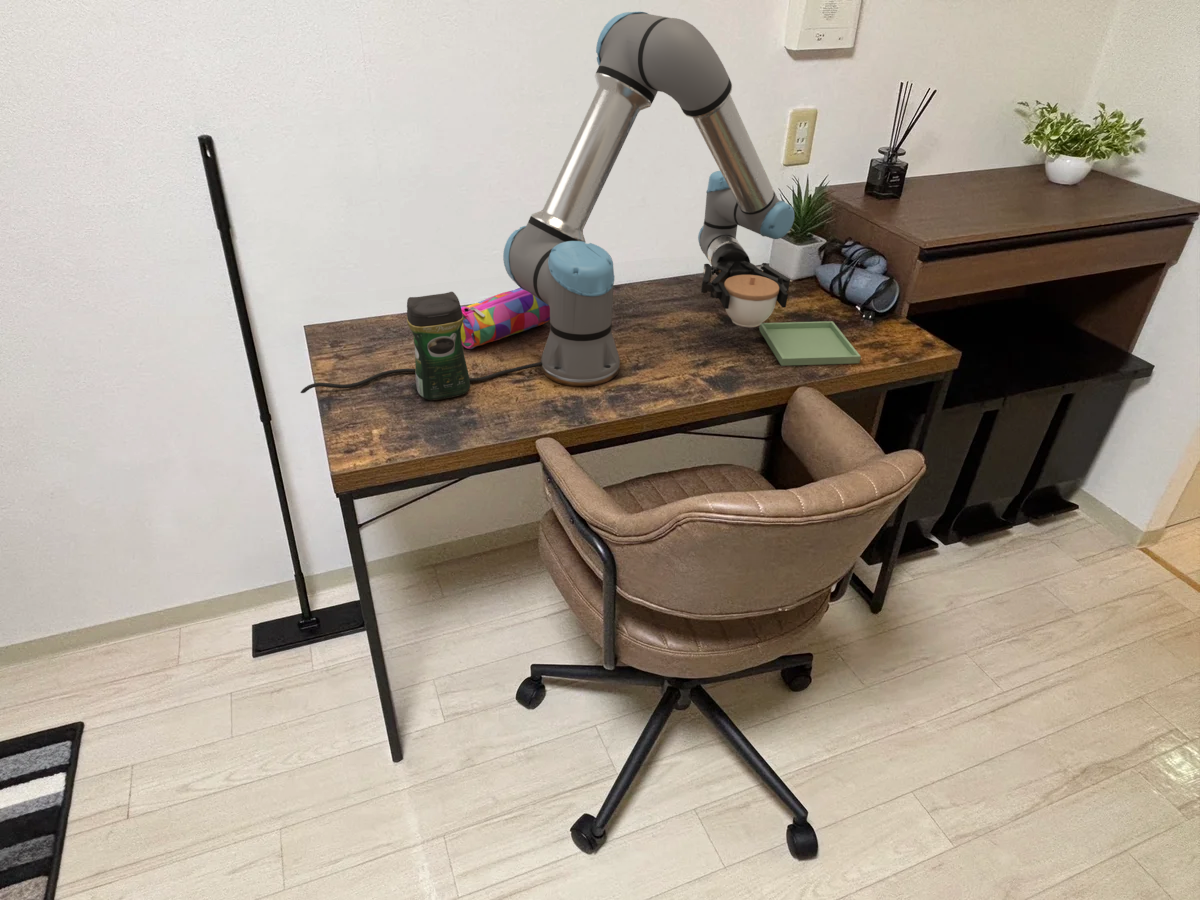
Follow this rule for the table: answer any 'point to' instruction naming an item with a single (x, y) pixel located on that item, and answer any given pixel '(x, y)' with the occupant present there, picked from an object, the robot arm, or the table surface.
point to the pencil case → (501, 317)
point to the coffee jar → (438, 345)
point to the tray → (808, 343)
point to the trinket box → (751, 299)
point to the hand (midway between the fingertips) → (756, 301)
